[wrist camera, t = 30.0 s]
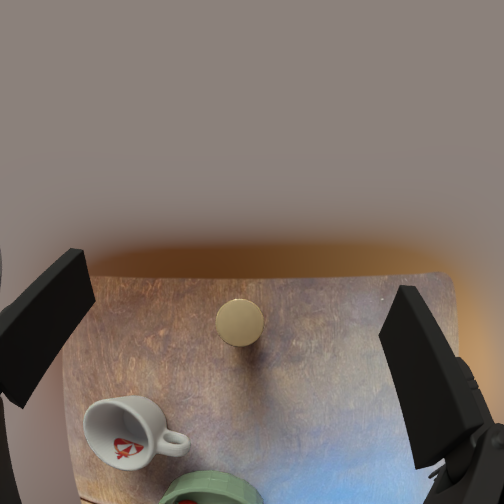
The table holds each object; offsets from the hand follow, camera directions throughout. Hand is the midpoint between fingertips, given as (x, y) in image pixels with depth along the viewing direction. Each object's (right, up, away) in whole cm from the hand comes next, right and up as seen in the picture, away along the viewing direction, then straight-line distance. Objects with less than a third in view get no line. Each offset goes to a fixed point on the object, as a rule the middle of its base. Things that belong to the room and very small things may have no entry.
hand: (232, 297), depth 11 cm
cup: (-11, -19, +17) cm, 28 cm away
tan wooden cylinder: (0, -7, +21) cm, 22 cm away
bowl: (-4, -30, +14) cm, 33 cm away
